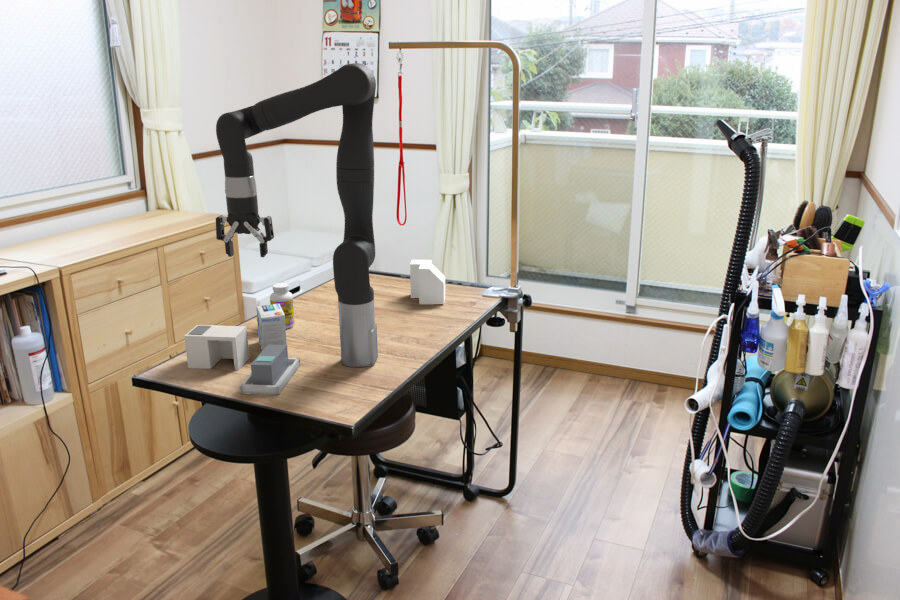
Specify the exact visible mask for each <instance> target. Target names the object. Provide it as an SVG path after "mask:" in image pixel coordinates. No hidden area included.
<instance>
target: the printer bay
mask: <svg viewBox="0 0 900 600" xmlns="http://www.w3.org/2000/svg"><path fill="white" fill-rule="evenodd" d="M183 337H184V345H185V353H186V360H187V368H188V369H203V370H206V369H207V370H211V369H212V368H213V367H214V366H215V365H216V364H217V363H219V361H220V360H221V359H230V360H231V359H232V360H233V363H234V370H235V371H238V370H241V368H242V367H243V366H244V365H245V363H246V362H247V361H248V360H249V359H250V350H249V341H248V340H249V339H248V328H247V326H246V325H245V326H244V325H243V326H242V325H216V324H215V325H212V324H211V325H210V324H196V325H195V326H194V327H192V329H191V330H189V331H188V332H187V333H185V334H184V336H183Z"/></svg>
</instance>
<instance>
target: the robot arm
mask: <svg viewBox="0 0 900 600" xmlns="http://www.w3.org/2000/svg"><path fill="white" fill-rule="evenodd" d="M376 88H377V81H376V76H375V74H374V72H373V71H372V70H371V69H370V68H369V67H368V66H367V65H365V64H363V63H360V62H359V63H358V62H357V63H356V62H355V63H354V62H353V63H347V64H344V65H342V66H341V67H339V68H338V69H337V70H335V71H333V72H332V73H329V74H328V75H327V76H325V77H323V78H321V79H319V80H318V81H315V82H313V83H310V84H307V85H305V86H302V87H299V88H296V89H292V90H289V91H286V92H282V93H279V94H276V95H274V96H271V97H267V98H266V99H262V100H260V101H258V102H257V103H255V104H253V105H250V106H248V107H244V108H241V109H238V110H234V111H229V112H224V113H222V114H221V115H220V116H218V119H217V120H216V125H215V134H216V139H217V142H218V147H219V149H220V153H221V155H222V158H223V171H224V192H225V200H226V209H227V211H226V212H227V216H224V215H221V214H220V215H218V216H217V217H215V234H216V235H215V236H216V237H215V238H216V240H217V241H222V242H224V248H225V254H226V255H227V257H230V258H232V257H233V256H234V255H235V251H234V243H233V238H234V236H235V235H236V234H237V235H242V234H245V235H251V234H252V235H253V237H255V238H256V239H257V240H258V241H259V252H260V254H259V255H260V258H265V257H266V255H268V242H271V241H272V240H273V239H274V238H275V235H274V234H275V233H274V228H273V220H272V217H271V216H270V215H268V216H264V217H263V216H262V217H261V216H260V214H259V203H258V192H257V183H256V178H255V169H254V167H255V166H254V159H253V155H252V153H251V152H249V151H248V149H247V143H246V139H249V138H251V137H254V136H255V135H258V134H261V133H263V132H265V131H270V130H274V129H277V128H280V127H282V126H285V125H288V124H291V123H294V122H296V121H298V120H300V119H303V118H305V117H307V116H309V115H311V114H315V113H316V112H319V111H322V110H326V109H330V108H335V107H340V106H341V107H342V109H341V110H342V128H341V133H340V137H339V142H338V148H337V152H336V153H337V154H336V162H335V163H336V189H337V193H338V197H339V200H340V202H341V203H340V204H341V206H342V210H343V215H344V229H343V230H344V231H343V232H344V233H343V240H342V243H340V244H338V246H337V247H336V248H335V249H334V252H333V255H332V269H333V270H332V271H333V282H334V288H335V292H336V293H337V301H338V302H337V303H338V304H337V305H338V322H339V324H338V325H339V339H340V340H339V342H340V357H341V359H340V360H341V364H342V365H344V366H346V367H350V368H365V367H368V366H375V364H376V362H377V359H378V358H379V349H378V347H379V346H378V326H377V325H378V324H377V323H376V321H375V320H376V317H375V316H376V315H375V290H374V288H373V287H372V286H371V283H370V267H371V266H372V265H373V263H374V261H375V258H376V243H375V235H374V234H375V233H374V232H375V231H374V224H373V221H374V219H373V213H374V192H375V191H374V190H375V188H374V187H375V148H374V145H375V144H374V131H373V118H374V109H375V108H374V107H375V100H376V99H375V97H376V90H377V89H376ZM260 223H261V225H262V226H264V232H263V230H262V228H261V227H260V226H259V225H260ZM226 224H228V225H229V226H230V228H229V230H228V231H227V233H226V234H225V225H226Z"/></svg>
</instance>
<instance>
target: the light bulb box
mask: <svg viewBox="0 0 900 600" xmlns="http://www.w3.org/2000/svg"><path fill="white" fill-rule="evenodd" d="M255 312H256V320H257V321H256V323H257V331H258V333H257V334H258V343H259V345H260V349H261V352H262V351H263V350H264V349H265V347H266V346H267V345H268V344H272V345H287V346H288V344H287V332H286V330H287V329H286V328H285V314H284V312H283V310H282V308H281V306H280V304H272V305H270V304H264V305H256V306H255Z"/></svg>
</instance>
